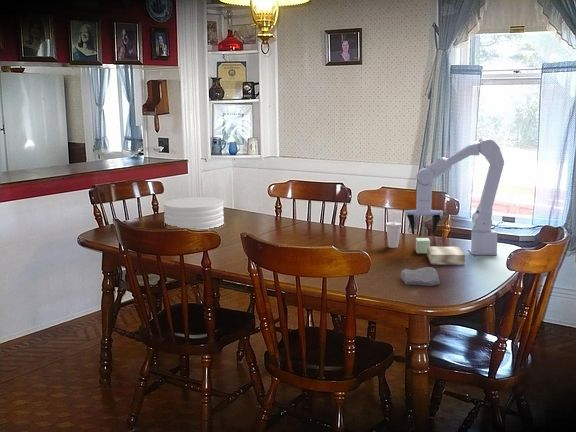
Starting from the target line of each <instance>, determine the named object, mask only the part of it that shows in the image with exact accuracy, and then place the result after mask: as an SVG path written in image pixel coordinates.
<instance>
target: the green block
mask: <svg viewBox="0 0 576 432" xmlns="http://www.w3.org/2000/svg"><path fill="white" fill-rule="evenodd" d="M427 247H431V240H430V238H429V237H415V252H416V254H427Z"/></svg>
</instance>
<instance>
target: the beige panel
mask: <svg viewBox="0 0 576 432" xmlns="http://www.w3.org/2000/svg"><path fill="white" fill-rule="evenodd" d="M465 256H466V255H465V252H463V250H462V248H461V247H460V246H430V247H427V253H426V257H427V258H428V261H429V264H431V265H460V266H461V265H465V262H466V261H465V260H466V259H465V258H466V257H465Z"/></svg>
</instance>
